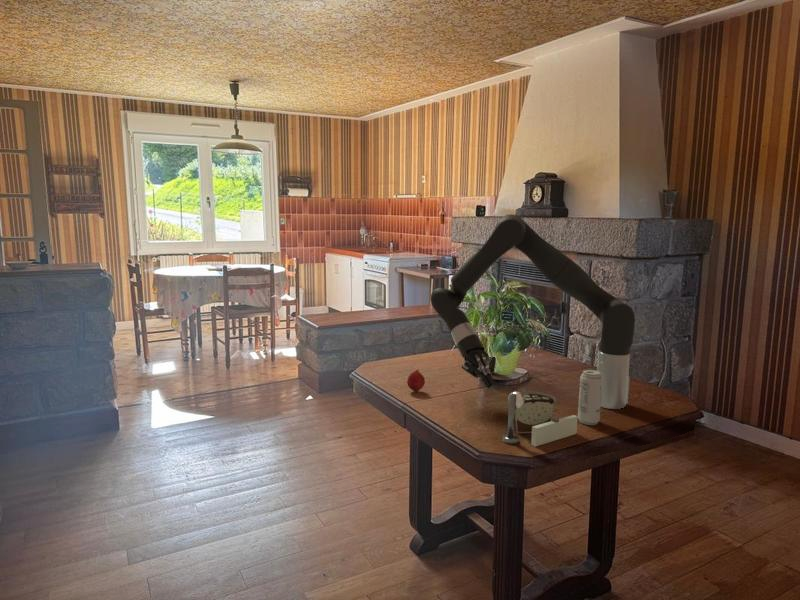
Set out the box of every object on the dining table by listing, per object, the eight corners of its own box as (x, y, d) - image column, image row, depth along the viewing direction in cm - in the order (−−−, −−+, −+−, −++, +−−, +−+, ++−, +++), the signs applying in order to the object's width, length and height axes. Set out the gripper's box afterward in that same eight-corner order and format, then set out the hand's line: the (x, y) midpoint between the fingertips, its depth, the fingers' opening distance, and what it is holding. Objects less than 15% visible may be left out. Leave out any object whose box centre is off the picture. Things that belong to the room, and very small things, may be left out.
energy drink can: (601, 426, 156) (605, 375, 153) (579, 425, 156) (583, 374, 154) (596, 418, 162) (600, 369, 159) (575, 417, 162) (578, 368, 160)
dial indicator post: (510, 436, 148) (512, 389, 146) (522, 442, 145) (524, 394, 142) (498, 439, 146) (500, 392, 144) (510, 445, 142) (512, 396, 140)
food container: (546, 423, 157) (548, 390, 156) (555, 432, 151) (556, 397, 150) (505, 424, 156) (506, 391, 155) (511, 433, 150) (513, 398, 149)
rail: (572, 432, 151) (573, 412, 151) (576, 433, 150) (577, 413, 149) (531, 444, 143) (532, 423, 142) (535, 446, 142) (536, 425, 141)
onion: (413, 395, 180) (413, 372, 179) (403, 391, 185) (404, 368, 183) (427, 393, 183) (428, 369, 182) (418, 388, 188) (418, 365, 187)
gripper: (455, 336, 169) (481, 384, 161) (488, 331, 176) (514, 377, 168) (445, 349, 174) (469, 396, 166) (477, 343, 181) (501, 389, 173)
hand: (491, 386), depth 167 cm, fingers closed
